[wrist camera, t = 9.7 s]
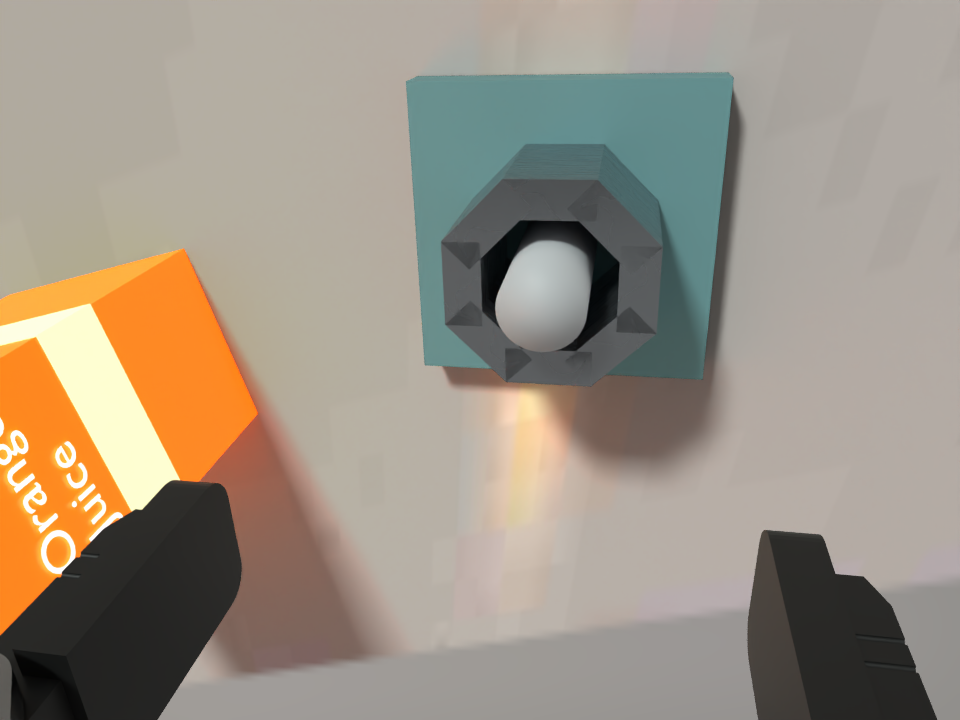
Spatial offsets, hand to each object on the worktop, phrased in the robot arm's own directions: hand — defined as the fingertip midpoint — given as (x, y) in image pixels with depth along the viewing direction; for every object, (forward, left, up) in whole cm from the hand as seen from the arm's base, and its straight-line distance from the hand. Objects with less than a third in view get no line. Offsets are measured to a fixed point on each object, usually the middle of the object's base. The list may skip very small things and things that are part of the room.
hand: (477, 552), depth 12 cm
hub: (0, 0, -16) cm, 16 cm away
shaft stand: (0, 0, -18) cm, 18 cm away
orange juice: (+18, +6, -18) cm, 26 cm away
